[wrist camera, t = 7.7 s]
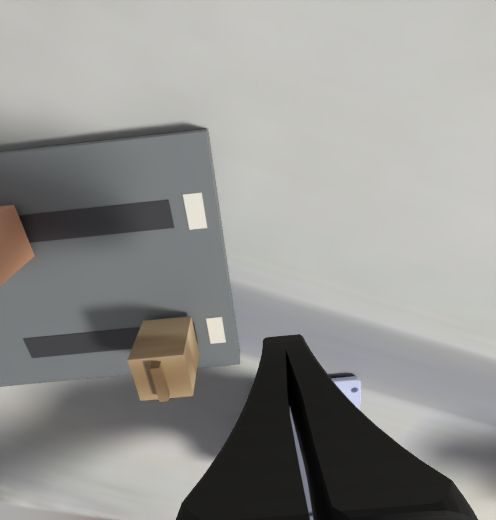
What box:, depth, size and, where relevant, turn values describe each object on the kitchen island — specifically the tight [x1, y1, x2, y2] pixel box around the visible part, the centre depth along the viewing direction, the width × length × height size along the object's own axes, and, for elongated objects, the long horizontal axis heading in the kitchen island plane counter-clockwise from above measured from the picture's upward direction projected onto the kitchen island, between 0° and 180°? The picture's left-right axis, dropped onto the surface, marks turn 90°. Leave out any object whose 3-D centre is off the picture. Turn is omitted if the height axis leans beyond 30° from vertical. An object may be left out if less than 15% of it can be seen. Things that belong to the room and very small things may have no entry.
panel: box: [0, 129, 240, 387], centre depth 22 cm, size 15×19×2 cm
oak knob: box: [127, 316, 199, 402], centre depth 21 cm, size 3×3×4 cm
